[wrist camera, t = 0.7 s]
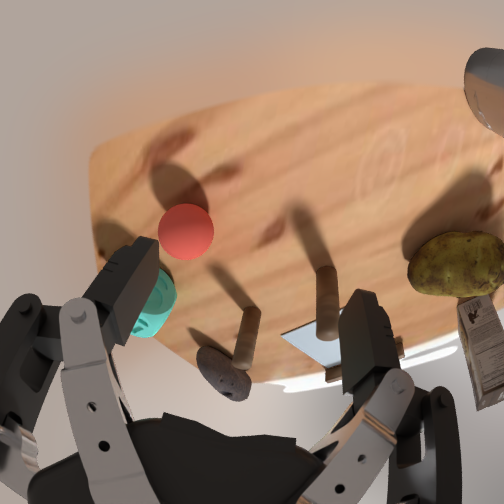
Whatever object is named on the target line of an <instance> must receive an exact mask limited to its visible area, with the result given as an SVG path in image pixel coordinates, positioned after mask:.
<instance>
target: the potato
mask: <svg viewBox="0 0 504 504" xmlns="http://www.w3.org/2000/svg"><path fill="white" fill-rule="evenodd" d="M407 277H408V279H409V282H410V284H411V285H412V287H413V288H414V289H415V290H416V291H418V292H420V293H423V294H428V295H436V296H452V297H457V298H461V297H471V296H483V295H487V294H490V293H492V292H494V291H495V290H497V289H498V288H499V287H500V286H501V285H502V284H504V243H503V242H502V240H501V239H499V238H498V237H496V236H494V235H491V234H489V233H485V232H482V231H473V232H468V233H461V232H456V231H452V232H447V233H444V234H442V235H439V236H437V237H435V238H433V239H431V240H430V241H429V242H427V243H426V244H425V245H424V246H422V247H421V249H420V250H419V251H418V252H417V253H416V254H415V255H414V257H413V258H412V259H411V261H410V263H409V265H408V273H407Z"/></svg>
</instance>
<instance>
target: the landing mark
mask: <svg viewBox="0 0 504 504" xmlns="http://www.w3.org/2000/svg"><path fill="white" fill-rule="evenodd" d="M343 309H344V308H343ZM343 309H341V310H340V314H341V312H342V311H343ZM281 337H282V338H284V339H285V340H287V341H288V342H290V343H291V344H292V345H294V346H295V347H297V348H298V349H300V350H301V351H303V352H304V353H306V354H307V355H308V356H310V357H311V358H313V359H314V360H316V361H317V362H319V363H320V364H322V365H323V366H325V367H326V368H330V367H333V366H336V365H339V364H341V355H340V343H339V338H338V339H336V340H334V341H321V340H319V339H318V338H317V337H316V321H314V322H312V323H309V324H307V325H305V326H302V327H300V328H298V329H295V330H293V331H290V332H288V333H285V334H283V335H281Z"/></svg>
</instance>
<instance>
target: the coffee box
mask: <svg viewBox="0 0 504 504" xmlns="http://www.w3.org/2000/svg"><path fill="white" fill-rule="evenodd" d="M457 316H458V333H459V337H460V340H461V343H462V347H463V350H464V354H465V358H466V361H467V366H468V369H469V374H470V378H471V383H472V387H473V393H474V397H475V403H476V409H477V411H479V410H482V409H484V408H486V407H489V406H492V405H495V404H497V403H498V402H501V401H503V400H504V330H503V327H502V325H501V322H500V320H499V318H498V314H497V312H496V310H495V307H494V305H493V303H492V301H491V298H490V296H489V294H487V295H483V296H478V297H476V298H474V299H471V300H469V301H467V302H465V303H462V304H460V305H458V306H457Z"/></svg>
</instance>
